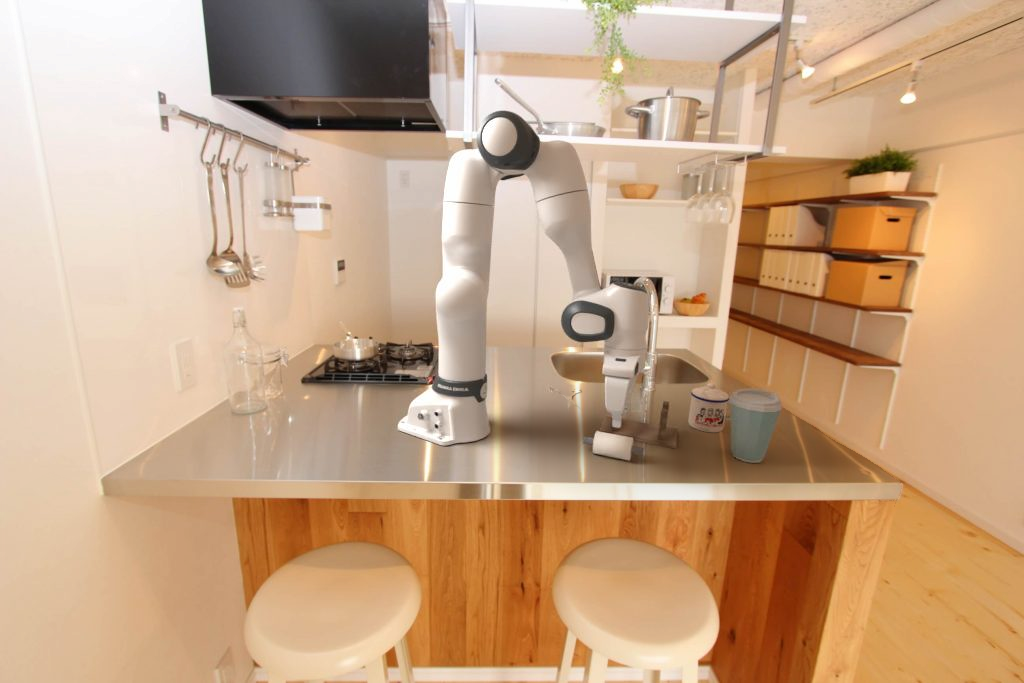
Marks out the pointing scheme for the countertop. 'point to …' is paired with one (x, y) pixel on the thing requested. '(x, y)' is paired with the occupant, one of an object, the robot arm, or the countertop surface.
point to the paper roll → (613, 445)
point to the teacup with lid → (708, 408)
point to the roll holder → (645, 430)
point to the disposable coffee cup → (752, 422)
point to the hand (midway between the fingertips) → (620, 418)
